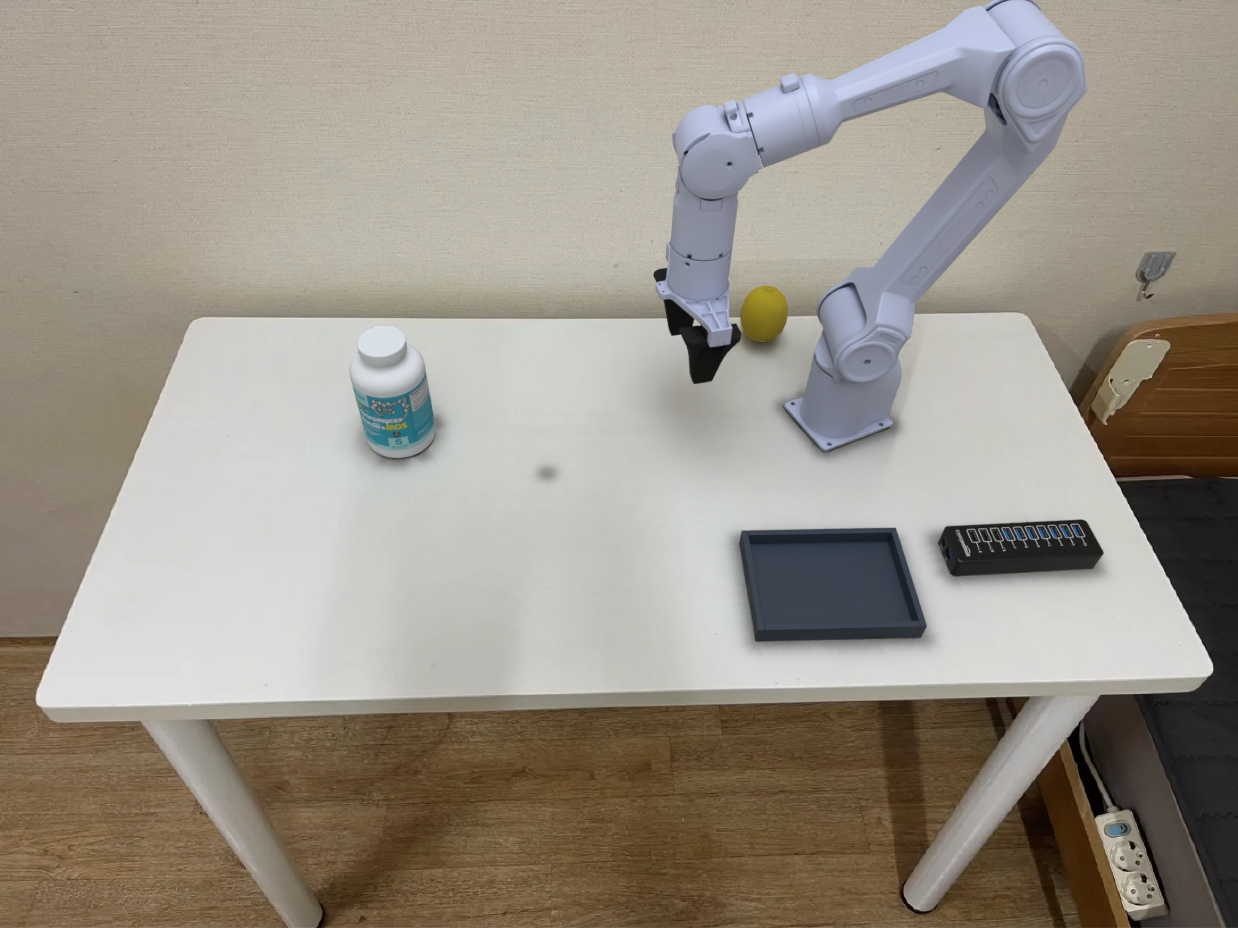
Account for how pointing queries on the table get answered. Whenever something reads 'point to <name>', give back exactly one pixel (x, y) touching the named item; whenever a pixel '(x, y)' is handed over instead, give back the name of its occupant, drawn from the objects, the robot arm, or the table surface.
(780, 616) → the tray
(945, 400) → the table surface
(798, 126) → the robot arm
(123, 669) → the table surface
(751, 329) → the lemon
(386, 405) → the pill bottle
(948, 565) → the multiport hub
